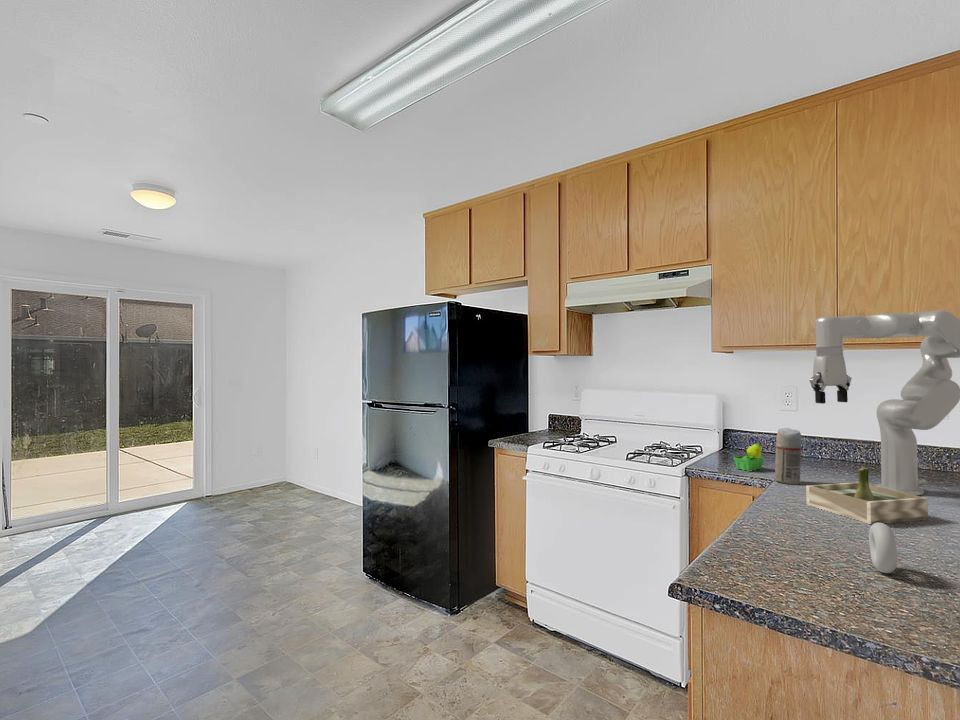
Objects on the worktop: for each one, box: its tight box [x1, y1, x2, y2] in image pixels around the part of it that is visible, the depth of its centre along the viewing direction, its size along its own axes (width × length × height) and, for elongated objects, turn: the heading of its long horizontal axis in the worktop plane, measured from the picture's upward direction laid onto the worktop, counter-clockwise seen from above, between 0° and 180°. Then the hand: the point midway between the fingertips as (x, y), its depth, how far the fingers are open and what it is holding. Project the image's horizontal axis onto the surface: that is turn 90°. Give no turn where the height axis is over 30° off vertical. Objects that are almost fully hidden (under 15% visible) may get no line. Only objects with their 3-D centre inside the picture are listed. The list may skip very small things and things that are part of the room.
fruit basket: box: [733, 443, 766, 472], centre depth 206 cm, size 11×9×11 cm
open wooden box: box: [805, 481, 929, 525], centre depth 144 cm, size 20×20×6 cm
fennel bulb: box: [854, 467, 875, 501], centre depth 145 cm, size 6×5×12 cm
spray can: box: [774, 427, 802, 485], centre depth 183 cm, size 8×8×20 cm
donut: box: [868, 523, 898, 574], centre depth 102 cm, size 10×4×10 cm, turn 151°
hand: (831, 402), depth 167 cm, fingers open, 9 cm apart
